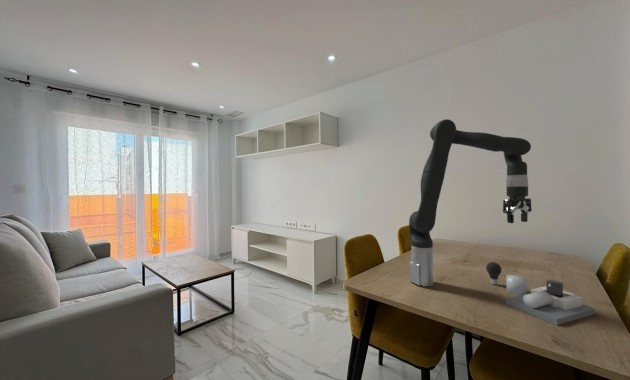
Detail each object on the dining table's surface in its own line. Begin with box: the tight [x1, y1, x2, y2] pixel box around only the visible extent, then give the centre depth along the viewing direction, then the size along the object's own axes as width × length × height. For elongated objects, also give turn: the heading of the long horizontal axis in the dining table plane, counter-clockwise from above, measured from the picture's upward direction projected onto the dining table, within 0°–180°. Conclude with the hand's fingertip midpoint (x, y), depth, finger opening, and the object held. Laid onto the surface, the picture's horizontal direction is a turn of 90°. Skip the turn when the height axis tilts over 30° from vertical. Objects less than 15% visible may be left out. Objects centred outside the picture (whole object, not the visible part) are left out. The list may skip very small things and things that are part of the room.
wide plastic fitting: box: [505, 274, 528, 296], centre depth 107 cm, size 7×7×6 cm
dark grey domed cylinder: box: [545, 279, 564, 298], centre depth 93 cm, size 4×4×7 cm
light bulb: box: [485, 261, 502, 286], centre depth 115 cm, size 6×6×10 cm
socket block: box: [505, 285, 596, 326], centre depth 92 cm, size 20×16×6 cm
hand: (517, 222), depth 113 cm, fingers open, 8 cm apart
